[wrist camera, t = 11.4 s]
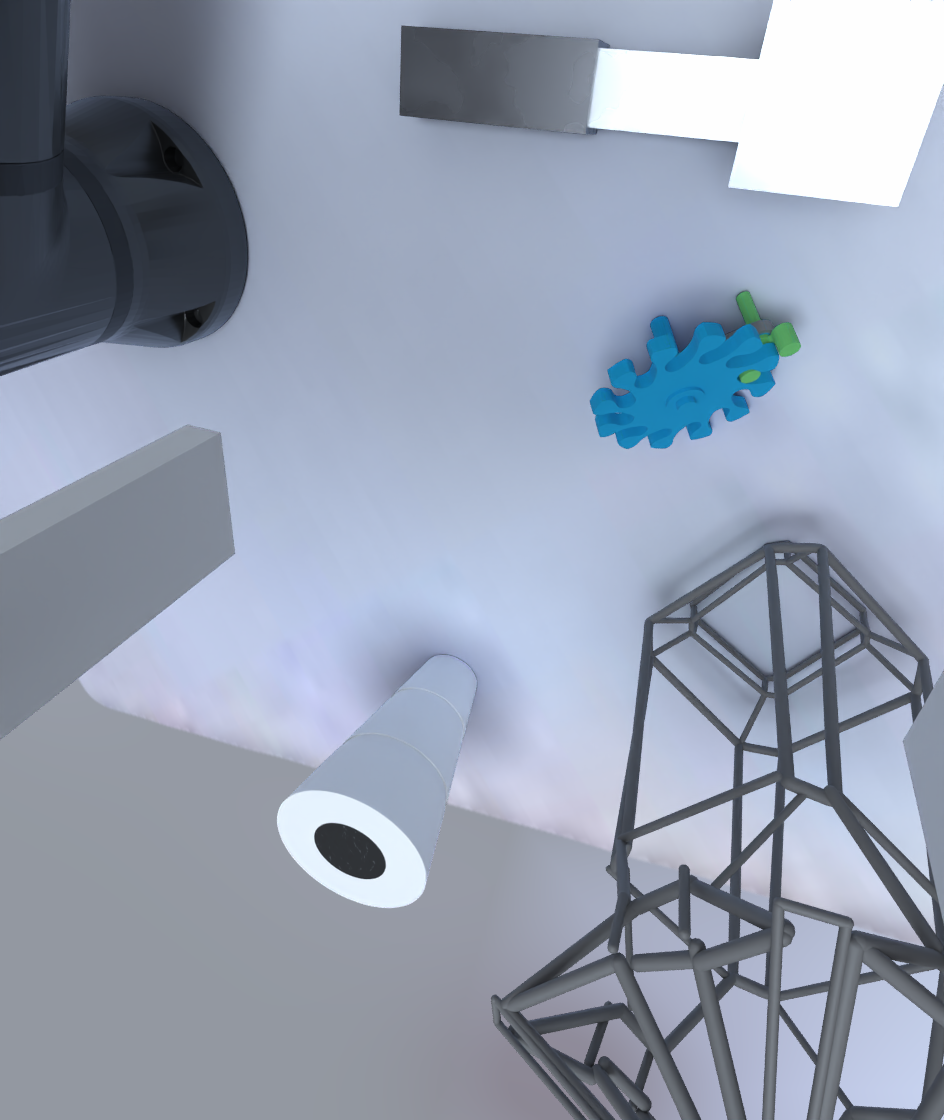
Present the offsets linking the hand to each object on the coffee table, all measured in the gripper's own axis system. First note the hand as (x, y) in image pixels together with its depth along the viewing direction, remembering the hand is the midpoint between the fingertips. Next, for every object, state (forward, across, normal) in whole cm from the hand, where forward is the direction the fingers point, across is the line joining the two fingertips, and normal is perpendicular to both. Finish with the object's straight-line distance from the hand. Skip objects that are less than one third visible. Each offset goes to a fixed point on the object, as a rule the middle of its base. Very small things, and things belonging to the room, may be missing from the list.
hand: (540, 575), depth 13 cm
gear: (+33, +1, -5) cm, 33 cm away
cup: (+33, -12, -34) cm, 49 cm away
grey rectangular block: (+30, +4, +8) cm, 31 cm away
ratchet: (+33, -5, +8) cm, 34 cm away
